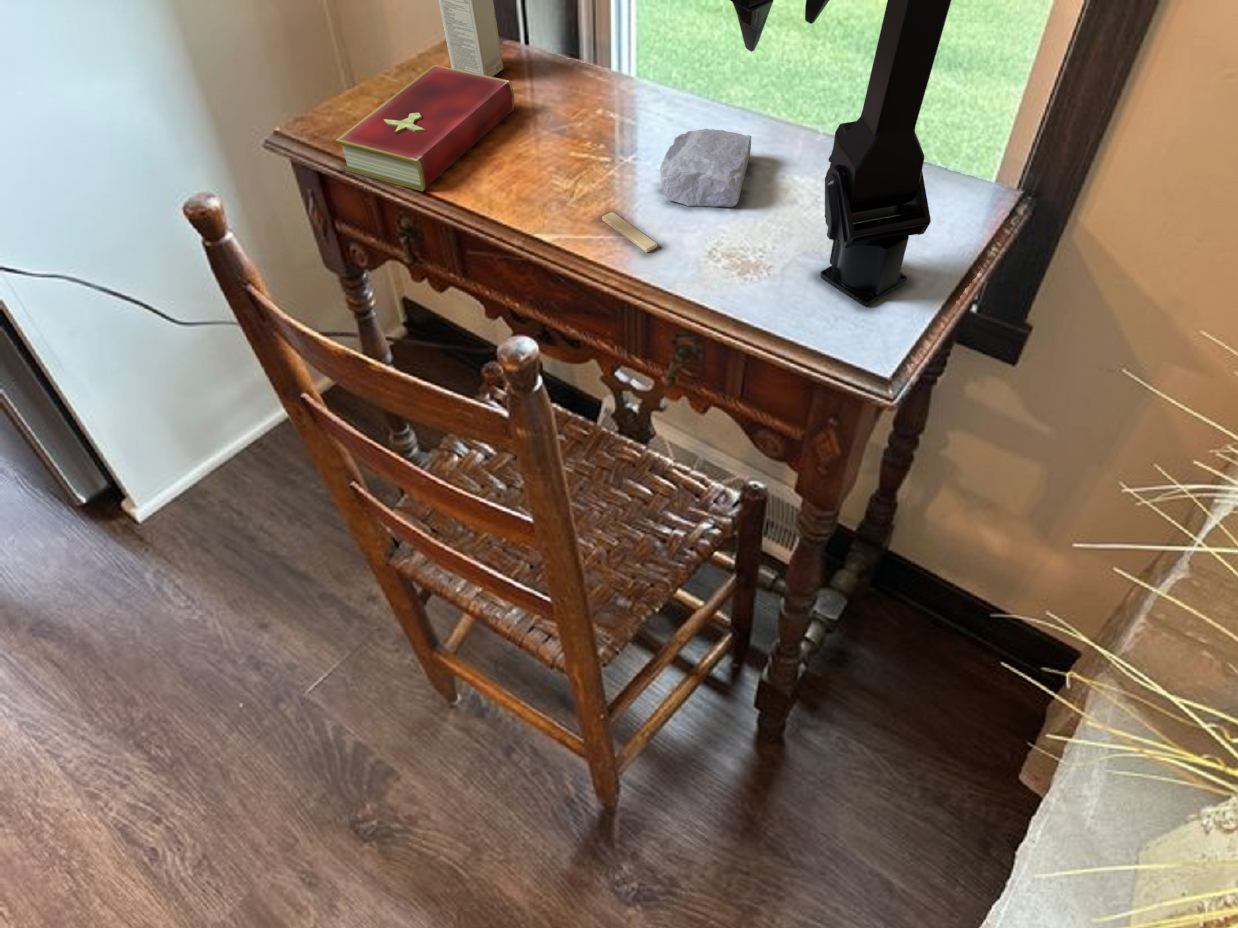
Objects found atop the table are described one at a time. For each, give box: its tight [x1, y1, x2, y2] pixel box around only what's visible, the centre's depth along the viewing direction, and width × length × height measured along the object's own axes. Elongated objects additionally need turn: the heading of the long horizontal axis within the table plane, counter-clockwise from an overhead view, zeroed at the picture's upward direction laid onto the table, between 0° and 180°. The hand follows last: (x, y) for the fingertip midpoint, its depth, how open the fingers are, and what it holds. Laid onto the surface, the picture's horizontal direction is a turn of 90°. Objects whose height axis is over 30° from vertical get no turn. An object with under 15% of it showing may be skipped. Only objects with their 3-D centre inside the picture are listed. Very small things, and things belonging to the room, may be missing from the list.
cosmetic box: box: [438, 0, 504, 77], centre depth 123 cm, size 6×4×12 cm
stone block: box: [659, 128, 752, 208], centre depth 107 cm, size 12×5×10 cm
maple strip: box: [601, 211, 658, 253], centre depth 101 cm, size 8×2×1 cm, turn 38°
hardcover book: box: [334, 63, 515, 192], centre depth 114 cm, size 12×21×4 cm, turn 154°
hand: (779, 35), depth 102 cm, fingers open, 9 cm apart
